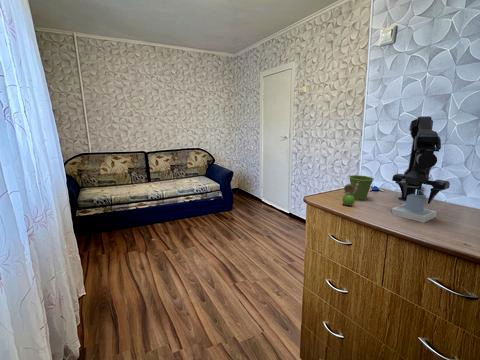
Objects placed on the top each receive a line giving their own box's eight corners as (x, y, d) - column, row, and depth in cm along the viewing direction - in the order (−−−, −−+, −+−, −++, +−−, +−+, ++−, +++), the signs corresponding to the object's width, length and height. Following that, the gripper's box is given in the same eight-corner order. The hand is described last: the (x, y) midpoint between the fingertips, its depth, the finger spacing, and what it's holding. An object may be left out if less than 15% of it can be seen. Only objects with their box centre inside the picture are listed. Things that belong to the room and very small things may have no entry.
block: (410, 206, 107) (412, 193, 106) (423, 210, 103) (425, 196, 102) (405, 208, 105) (407, 195, 103) (418, 212, 101) (420, 198, 99)
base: (404, 208, 113) (405, 203, 112) (435, 216, 103) (436, 211, 102) (391, 213, 106) (392, 208, 106) (423, 222, 96) (424, 216, 96)
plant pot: (344, 199, 127) (347, 178, 124) (348, 194, 137) (350, 174, 134) (370, 203, 121) (373, 181, 118) (372, 197, 130) (374, 176, 128)
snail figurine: (357, 207, 114) (360, 182, 111) (343, 206, 115) (345, 181, 113) (354, 203, 119) (357, 180, 116) (340, 203, 120) (343, 179, 118)
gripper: (388, 162, 103) (383, 198, 106) (443, 169, 88) (434, 210, 91) (400, 161, 109) (395, 194, 112) (453, 167, 94) (445, 205, 97)
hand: (415, 200), depth 103 cm, fingers open, 9 cm apart
